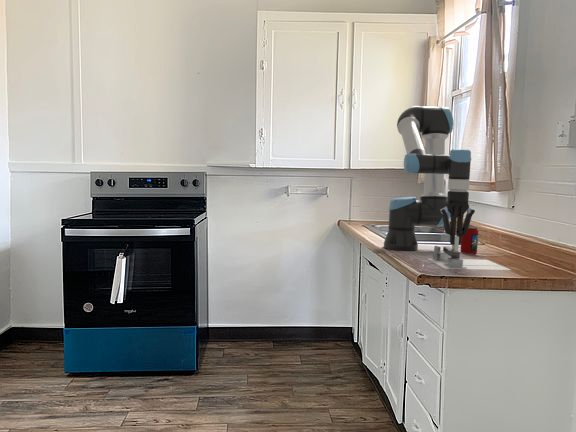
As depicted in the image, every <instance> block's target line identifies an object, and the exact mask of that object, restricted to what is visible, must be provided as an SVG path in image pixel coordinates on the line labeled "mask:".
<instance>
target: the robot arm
mask: <svg viewBox="0 0 576 432" xmlns="http://www.w3.org/2000/svg"><path fill="white" fill-rule="evenodd" d="M396 128H397V131H398V133H399V135H401V137H402V141H403V145H404V148H405V152H406V154H405V155H404V158H403V169H404V172H406V173H409V174H423V175H424V177H423V179H424V180H423V193H422V194H421V195H420V196H419V198H420V199H417V197H416V196H404V197H402V196H401V197H394V198H392V199H390V202H389V206H388V207H389V208H388V211H389V212H388V231H387V234H386V235H385V238H384V242H383V248H384V249H388V250H393V251H403V252H405V251H407V252H408V251H417V250H418V249H419V248H418V246H419V245H418V243H419V242H418V240H417V237H416V233H415V231H416V230H415V228H416V226H417V227H435V228H436V227H444V232H445V233H446V234H447V235H449V237H450V238H449V243H450V245H451V248H452V249H453V250H455V251H459V246H461V237H462V236H463V235H466V234H467V231H468V227H469V226H470V223H471V221H472V217H473V215H474V214H475V213H476V211H475V209H472V207H470V204H469V198H470V197H469V193H470V192H469V190H470V177H471V176H470V175H471V162H472V151H471V149H467V148H464V149H463V148H462V149H461V148H456V149H455V148H453V149H451V150H450V152H449V154H445V153H446V152H445V151H446V150H445V149H446V148H445V146H446V145H445V144H446V139H448V138H449V135H450V134H451V133H452V132H453V129H454V116H453V112H452V110H451V109H450V108H449V107H448V106H424V105H423V106H419V105H414V106H411V107H409V108H407V109H406V110H404V111H403V112H402V113H401V114H400V115H399V117H398V119H397V121H396ZM423 140H424V141H425V142H423ZM424 143H425V144H424ZM445 175H448V178H447V179H448V181H447V183H448V184H447V190H448V191H447V195H446V194H445V193H444V192H445V191H444V190H445ZM464 214H466V215H465V216H464ZM463 220H464V221H463Z"/></svg>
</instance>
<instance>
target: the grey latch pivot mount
mask: <svg viewBox="0 0 576 432" xmlns="http://www.w3.org/2000/svg"><path fill="white" fill-rule="evenodd" d="M463 259H464V258H461V257H460V258H451V256H449V257H448V264H444V265H445V266H447V267H449V268H465V269H464V270H467V269H466V268H467V267H465V266H463Z"/></svg>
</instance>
